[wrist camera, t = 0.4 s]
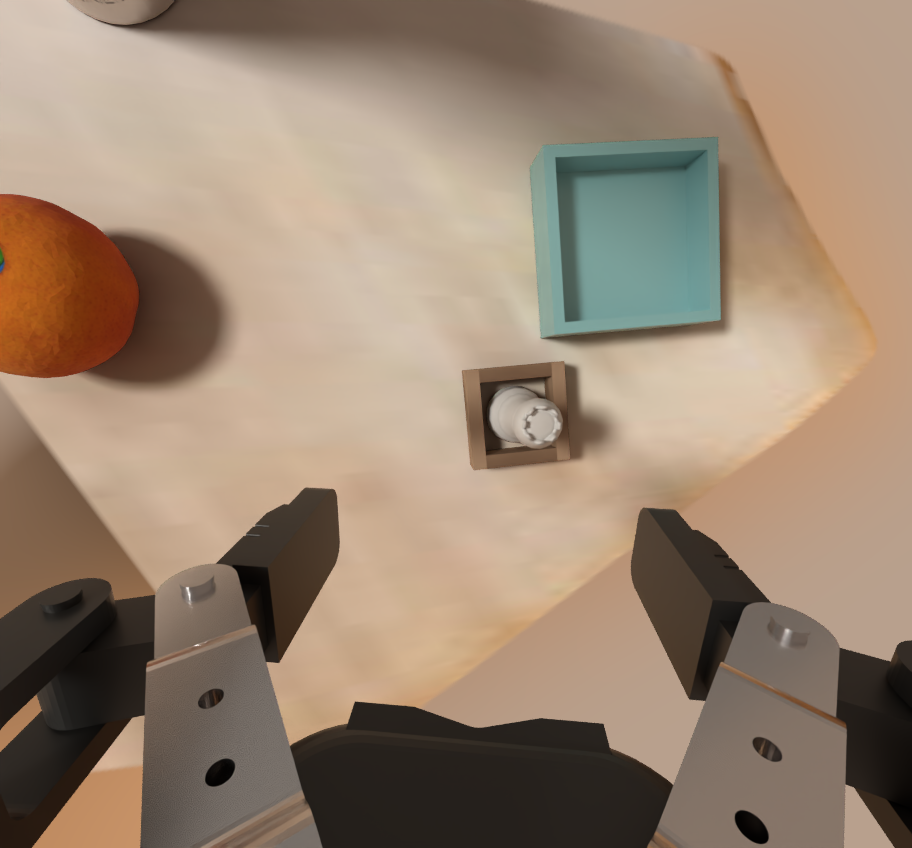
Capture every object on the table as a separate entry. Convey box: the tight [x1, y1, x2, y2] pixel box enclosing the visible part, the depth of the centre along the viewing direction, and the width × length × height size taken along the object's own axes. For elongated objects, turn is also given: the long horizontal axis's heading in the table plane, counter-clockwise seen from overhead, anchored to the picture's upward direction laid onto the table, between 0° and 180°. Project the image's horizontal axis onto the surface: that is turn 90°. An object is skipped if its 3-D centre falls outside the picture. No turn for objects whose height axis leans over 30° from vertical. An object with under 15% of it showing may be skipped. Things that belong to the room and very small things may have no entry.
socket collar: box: [462, 361, 570, 470], centre depth 34 cm, size 8×8×2 cm
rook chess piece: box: [486, 386, 563, 449], centre depth 31 cm, size 4×4×8 cm
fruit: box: [0, 194, 139, 378], centre depth 27 cm, size 11×10×8 cm
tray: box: [530, 137, 721, 338], centre depth 32 cm, size 13×13×3 cm
